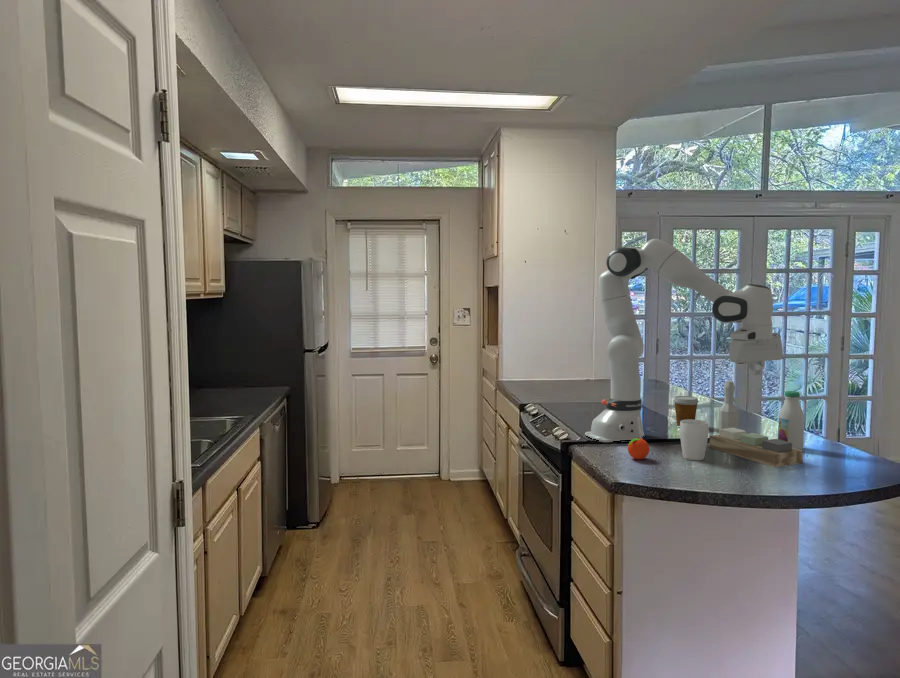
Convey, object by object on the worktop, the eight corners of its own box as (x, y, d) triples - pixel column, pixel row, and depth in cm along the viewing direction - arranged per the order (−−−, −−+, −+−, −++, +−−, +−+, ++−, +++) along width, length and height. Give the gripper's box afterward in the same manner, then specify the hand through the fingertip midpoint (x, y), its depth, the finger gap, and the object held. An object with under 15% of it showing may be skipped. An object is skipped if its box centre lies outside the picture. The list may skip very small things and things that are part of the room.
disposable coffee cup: (701, 429, 244) (702, 399, 244) (677, 429, 245) (678, 399, 244) (692, 424, 254) (693, 395, 253) (669, 424, 254) (670, 395, 253)
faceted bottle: (728, 438, 230) (730, 379, 229) (741, 442, 224) (743, 382, 223) (714, 439, 228) (716, 380, 227) (727, 443, 222) (728, 383, 221)
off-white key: (732, 444, 211) (733, 432, 211) (719, 440, 217) (719, 429, 217) (746, 442, 213) (746, 431, 213) (732, 438, 219) (732, 427, 219)
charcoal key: (777, 457, 195) (778, 444, 194) (762, 452, 200) (762, 440, 200) (791, 455, 197) (792, 442, 196) (775, 450, 202) (776, 438, 202)
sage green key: (754, 450, 203) (754, 438, 203) (739, 446, 209) (740, 434, 208) (768, 448, 205) (768, 436, 205) (753, 444, 211) (753, 432, 210)
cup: (707, 455, 207) (708, 420, 206) (709, 462, 198) (709, 425, 197) (678, 453, 210) (679, 418, 209) (679, 460, 201) (679, 424, 200)
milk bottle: (802, 447, 216) (803, 390, 215) (804, 452, 209) (806, 394, 208) (777, 444, 220) (778, 389, 218) (778, 450, 213) (780, 392, 211)
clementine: (635, 463, 198) (635, 441, 198) (620, 458, 204) (620, 437, 204) (653, 460, 202) (654, 438, 201) (638, 455, 208) (638, 434, 208)
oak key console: (774, 467, 192) (775, 454, 192) (709, 447, 217) (709, 436, 217) (802, 463, 197) (802, 450, 196) (735, 443, 222) (735, 432, 221)
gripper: (772, 331, 210) (771, 371, 212) (726, 333, 203) (725, 375, 204) (788, 332, 205) (787, 374, 206) (741, 335, 197) (740, 377, 198)
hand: (755, 374), depth 205 cm, fingers closed
